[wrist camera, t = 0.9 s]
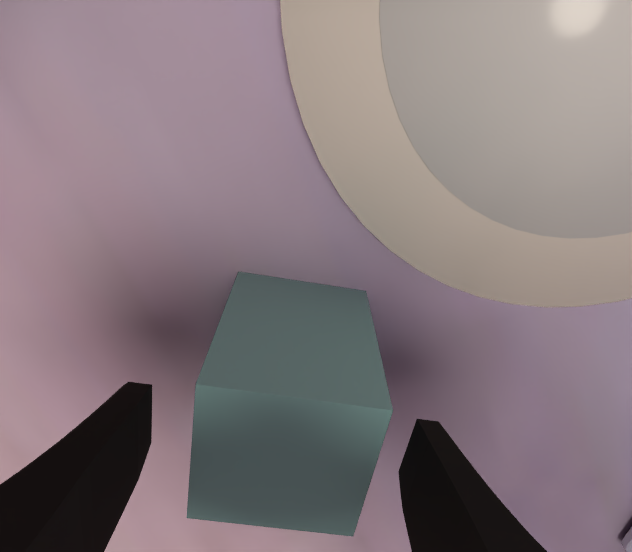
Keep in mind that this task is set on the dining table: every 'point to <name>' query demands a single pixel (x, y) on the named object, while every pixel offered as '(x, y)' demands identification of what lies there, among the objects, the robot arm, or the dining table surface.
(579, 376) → the dining table surface
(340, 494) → the teal block
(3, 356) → the dining table surface
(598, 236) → the serving plate
